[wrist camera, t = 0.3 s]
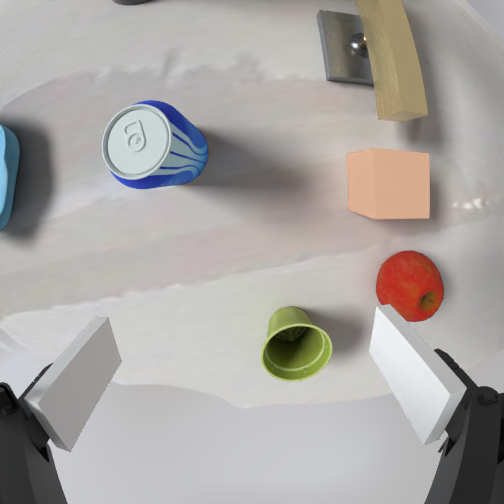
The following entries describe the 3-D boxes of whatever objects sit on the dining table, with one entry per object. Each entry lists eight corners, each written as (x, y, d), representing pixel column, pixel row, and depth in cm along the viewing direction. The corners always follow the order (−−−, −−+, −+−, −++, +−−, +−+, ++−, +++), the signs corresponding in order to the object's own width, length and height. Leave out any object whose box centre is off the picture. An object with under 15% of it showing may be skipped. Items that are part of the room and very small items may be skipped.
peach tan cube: (346, 153, 36) (373, 148, 27) (395, 156, 36) (428, 153, 27) (348, 209, 38) (374, 219, 29) (396, 209, 38) (429, 218, 29)
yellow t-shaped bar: (339, -18, 26) (357, -52, 16) (360, -14, 26) (381, -46, 16) (365, 124, 32) (401, 110, 23) (388, 126, 32) (428, 115, 23)
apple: (423, 294, 42) (456, 321, 32) (372, 314, 43) (400, 348, 32) (419, 238, 39) (458, 256, 29) (364, 257, 40) (396, 282, 30)
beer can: (219, 135, 35) (198, 107, 20) (196, 193, 37) (161, 204, 22) (164, 117, 34) (114, 86, 19) (142, 173, 36) (81, 174, 21)
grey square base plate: (316, 16, 30) (319, 9, 28) (386, 27, 30) (391, 22, 28) (326, 80, 33) (330, 75, 31) (399, 89, 33) (405, 85, 31)
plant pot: (278, 284, 41) (286, 311, 33) (329, 311, 42) (346, 340, 34) (247, 333, 43) (247, 366, 35) (296, 355, 44) (305, 389, 36)
